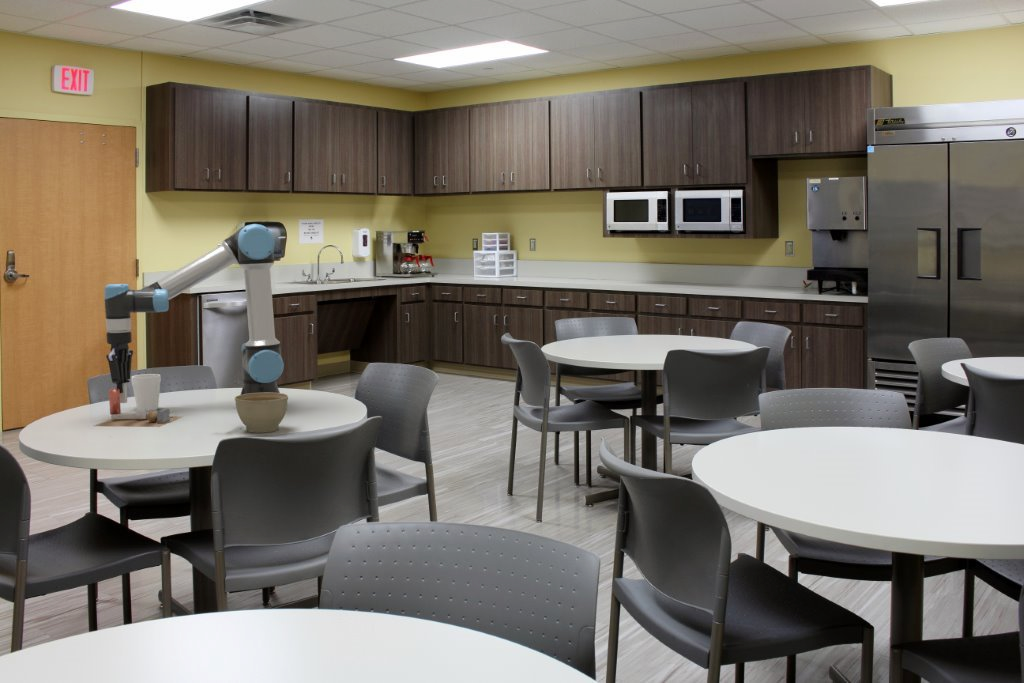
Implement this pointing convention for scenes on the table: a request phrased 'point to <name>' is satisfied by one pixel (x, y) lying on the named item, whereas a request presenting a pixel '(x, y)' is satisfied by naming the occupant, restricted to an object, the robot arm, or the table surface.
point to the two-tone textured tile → (163, 416)
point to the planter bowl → (261, 410)
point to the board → (135, 422)
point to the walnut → (152, 416)
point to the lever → (116, 410)
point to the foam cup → (146, 390)
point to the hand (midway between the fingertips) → (122, 402)
